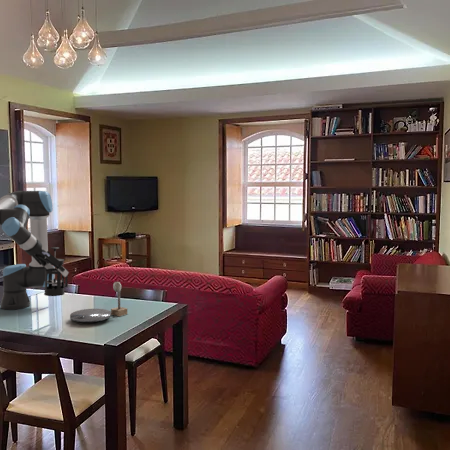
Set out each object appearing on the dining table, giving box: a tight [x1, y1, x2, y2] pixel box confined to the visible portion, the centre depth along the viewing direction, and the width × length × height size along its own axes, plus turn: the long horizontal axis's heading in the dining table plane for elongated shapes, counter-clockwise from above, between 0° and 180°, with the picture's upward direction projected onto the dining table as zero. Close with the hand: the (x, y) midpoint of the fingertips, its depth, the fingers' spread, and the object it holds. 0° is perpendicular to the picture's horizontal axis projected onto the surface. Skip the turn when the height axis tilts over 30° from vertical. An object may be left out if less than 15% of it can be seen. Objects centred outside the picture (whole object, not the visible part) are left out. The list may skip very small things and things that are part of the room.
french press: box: [43, 246, 69, 297], centre depth 230 cm, size 12×9×23 cm
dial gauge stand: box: [110, 281, 128, 317], centre depth 248 cm, size 6×6×18 cm
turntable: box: [69, 308, 112, 323], centre depth 238 cm, size 20×20×2 cm
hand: (60, 273), depth 232 cm, fingers closed on french press, 9 cm apart
